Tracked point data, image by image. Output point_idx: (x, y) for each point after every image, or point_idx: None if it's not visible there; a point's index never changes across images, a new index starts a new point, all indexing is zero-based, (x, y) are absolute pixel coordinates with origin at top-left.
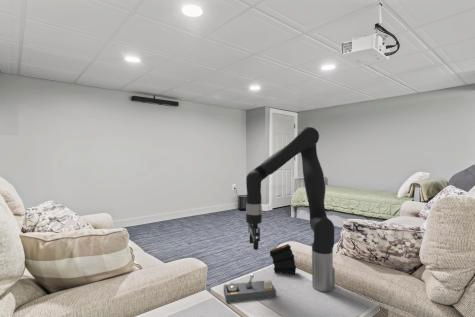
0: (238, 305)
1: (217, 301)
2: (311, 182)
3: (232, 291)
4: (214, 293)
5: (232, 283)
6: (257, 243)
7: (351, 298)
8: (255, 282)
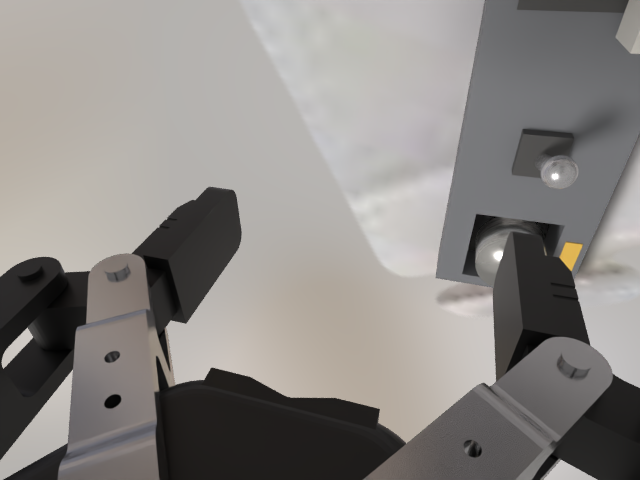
0: (632, 229)
1: None
2: None
3: None
4: (442, 293)
5: (479, 257)
6: (584, 340)
7: None
8: (488, 81)
